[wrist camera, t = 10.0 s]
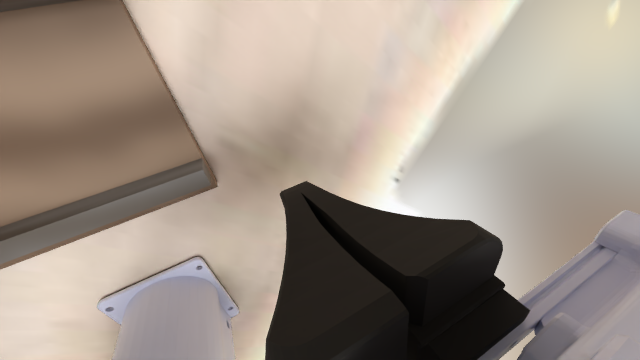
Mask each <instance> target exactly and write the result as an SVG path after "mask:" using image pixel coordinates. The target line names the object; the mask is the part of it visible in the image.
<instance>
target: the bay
mask: <svg viewBox="0 0 640 360" xmlns="http://www.w3.org/2000/svg"><path fill="white" fill-rule="evenodd" d="M216 187H217V181H216V179H215V177H214V175H213V173H212V171H211V169H210V167H209V166H208V164H207V162H206V160H205V158H204V156H203V154H202V152H201V150H200V148H199V146H198V144H197V143H196V141H195V139H194V137H193V135H192V133H191V131H190V129H189V127H188V125H187V123H186V122H185V120H184V118H183V116H182V114H181V112H180V110H179V108H178V106H177V104H176V102H175V100H174V99H173V97H172V95H171V93H170V91H169V89H168V87H167V85H166V83H165V81H164V79H163V77H162V76H161V74H160V72H159V70H158V68H157V66H156V64H155V62H154V60H153V58H152V56H151V55H150V53H149V51H148V49H147V47H146V45H145V43H144V41H143V39H142V37H141V35H140V33H139V32H138V30H137V28H136V26H135V24H134V22H133V20H132V18H131V16H130V14H129V12H128V10H127V9H126V7H125V5H124V3H123V1H122V0H0V269H3V268H5V267H8V266H11V265H13V264H16V263H19V262H21V261H24V260H26V259H29V258H32V257H34V256H37V255H40V254H42V253H45V252H48V251H50V250H53V249H55V248H58V247H61V246H63V245H66V244H69V243H71V242H74V241H76V240H79V239H82V238H84V237H87V236H90V235H92V234H95V233H97V232H100V231H103V230H105V229H108V228H111V227H113V226H116V225H118V224H121V223H124V222H126V221H129V220H132V219H134V218H137V217H139V216H142V215H145V214H147V213H150V212H153V211H155V210H158V209H160V208H163V207H166V206H168V205H171V204H174V203H176V202H179V201H182V200H184V199H187V198H189V197H192V196H195V195H197V194H200V193H203V192H205V191H208V190H210V189H213V188H216Z"/></svg>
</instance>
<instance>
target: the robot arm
mask: <svg viewBox="0 0 640 360" xmlns="http://www.w3.org/2000/svg"><path fill="white" fill-rule="evenodd" d="M280 196H281V199H282V202H283V205H284V208H285V214H286V231H287V239H286V255H285V263H284V270H283V276H282V281H281V286H280V290H279V295H278V300H277V304H276V308H275V311H274V315H273V318H272V321H271V325H270V328H269V331H268V335H267V338H266V355H265V360H499V359H500V358H501V357H502V356H503V355H504V354H506V353H507V352H508V351H509V350H511V349H512V348H513V347H514V346H515V345H516V344H518V343H519V342H520V341H521V340H522V339H523V338H525V337H526V336H527V335H528V334H529V333H531V332H532V331H533V330H534V329H535V330H534V331H535V335H536V336H535V337H534V338H533V339H532V340H531V341H530V342H529V343H528V344H527V345H526V346H525V347H524V348H523V351H522V353H521V354H520V356H519V357H518V359H517V360H640V215H639V214H637V213H634V212H632V211H629V210H623V211H621V212H620V213H619V214H618V215H616V216H615V217H614V218H612V219H611V220H610V221H608V222H607V223H606V224H605V225H604V226H603V227H602V228H601V230H600V231H599V232H598V233H597V235H596V236H595V238H594V241H593V242H592V243H591V244H590V245H588V246H587V247H586V248H584V249H583V250H582V251H580V252H579V253H578V254H577V255H575V256H574V257H573V258H571V259H570V260H569V261H567V262H566V263H565V264H564V265H562V266H561V267H560V268H558V269H557V270H556V271H555V272H553V273H552V274H551V275H549V276H548V277H547V278H545V279H544V280H543V281H542V282H540V283H539V284H538V285H536V286H535V287H534V288H533V289H531V290H530V291H529V292H527V293H526V294H525V295H524V296H522V297H521V298H520V299H519V300H516V299H515V298H514V297H512V296H511V295H510V294H509V293H507V292H506V291H505V290H504V289H503V288H504V287H505V284H504V282H502V281H501V280H500V279H498V278H497V277H496V276H494V273H495V271H496V268H497V265H498V263H499V260H500V258H501V255H502V251H503V245H502V241H501V240H500V239H499V238H498V237H496V236H495V235H493V234H491V233H490V232H488V231H486V230H485V229H483V228H482V227H480V226H478V225H477V224H475V223H473V222H472V221H470V220H449V219H433V218H424V217H415V216H408V215H402V214H397V213H391V212H386V211H382V210H378V209H374V208H370V207H367V206H363V205H360V204H357V203H354V202H351V201H349V200H346V199H343V198H341V197H339V196H336V195H334V194H332V193H330V192H327V191H325V190H323V189H321V188H319V187H317V186H315V185H313V184H311V183H309V182H307V181H305V182H303V183H300V184H298V185H296V186H293V187H291V188H288V189H286V190H284V191H281V193H280ZM197 266H200V267H197ZM97 308H98V309H99V310H100V311H102V312H103V313H104V314H106V315H107V316H109V317H110V318H111V319H113V320H114V321H116V322H117V323H118V324H120V325H121V327H120V331H119V335H118V338H117V342H116V346H115V349H114V353H113V357H112V360H236V358H235V350H234V342H233V334H232V327H231V319H230V318H232V317H234V316H236V315H237V314H238V313H239V309H238V307H237V306H236V304H235V303H234V301H233V300H232V299H231V297H230V296H229V295H228V293H227V292H226V290H225V289H224V288H223V286H222V285H221V284H220V282H219V281H218V279H217V278H216V277H215V275H214V274H213V273H212V271H211V270H210V268H209V267H208V266H207V264H206V263H205V262H204V260H203V259H202V258H200V257H195V258H193V259H190V260H188V261H186V262H184V263H181V264H179V265H177V266H175V267H173V268H170V269H168V270H166V271H164V272H161V273H159V274H157V275H155V276H153V277H150V278H148V279H146V280H144V281H141V282H139V283H137V284H135V285H132V286H130V287H128V288H126V289H124V290H121V291H119V292H117V293H115V294H112V295H110V296H108V297H106V298H104V299H102V300H100V301H99V302H98V305H97Z"/></svg>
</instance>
